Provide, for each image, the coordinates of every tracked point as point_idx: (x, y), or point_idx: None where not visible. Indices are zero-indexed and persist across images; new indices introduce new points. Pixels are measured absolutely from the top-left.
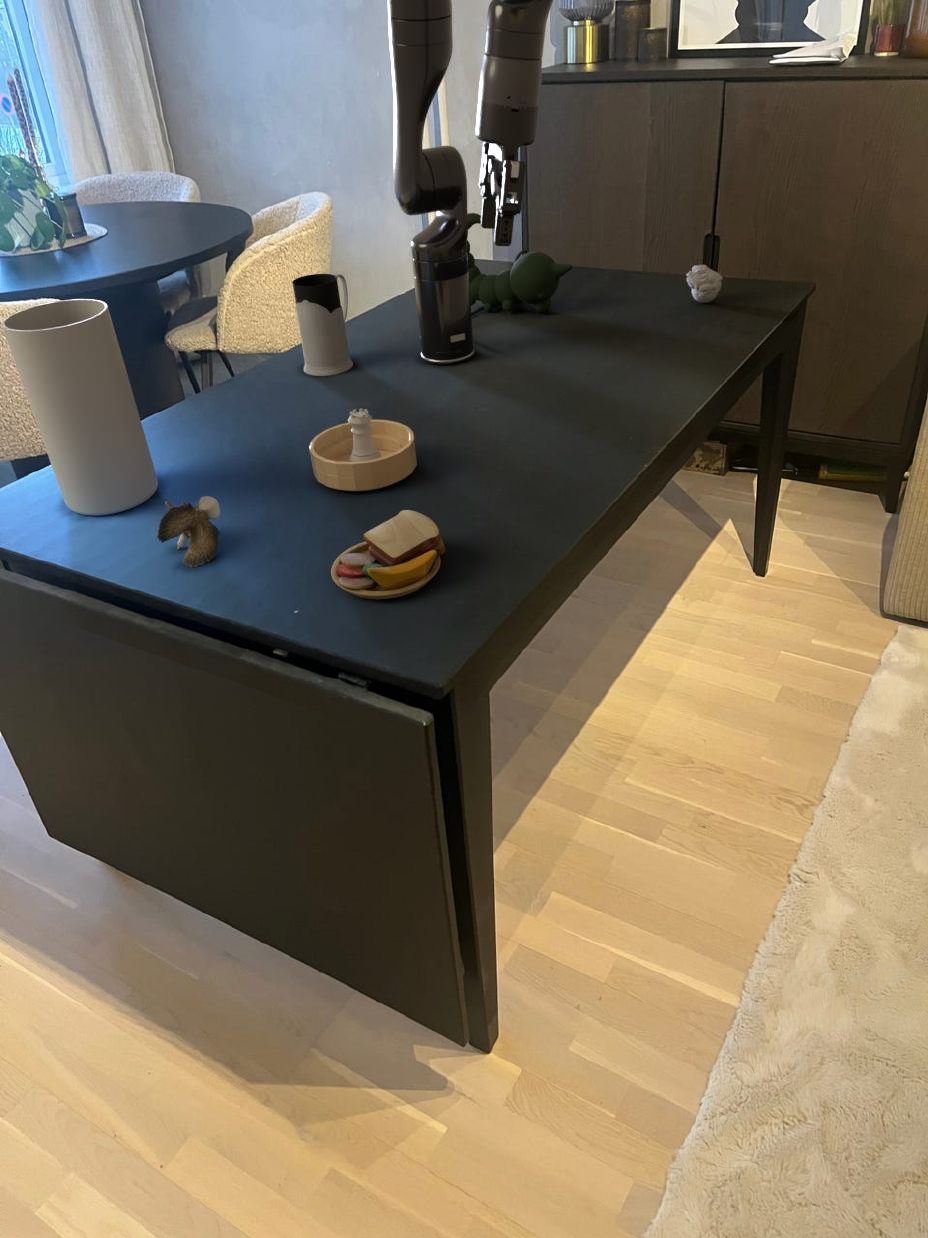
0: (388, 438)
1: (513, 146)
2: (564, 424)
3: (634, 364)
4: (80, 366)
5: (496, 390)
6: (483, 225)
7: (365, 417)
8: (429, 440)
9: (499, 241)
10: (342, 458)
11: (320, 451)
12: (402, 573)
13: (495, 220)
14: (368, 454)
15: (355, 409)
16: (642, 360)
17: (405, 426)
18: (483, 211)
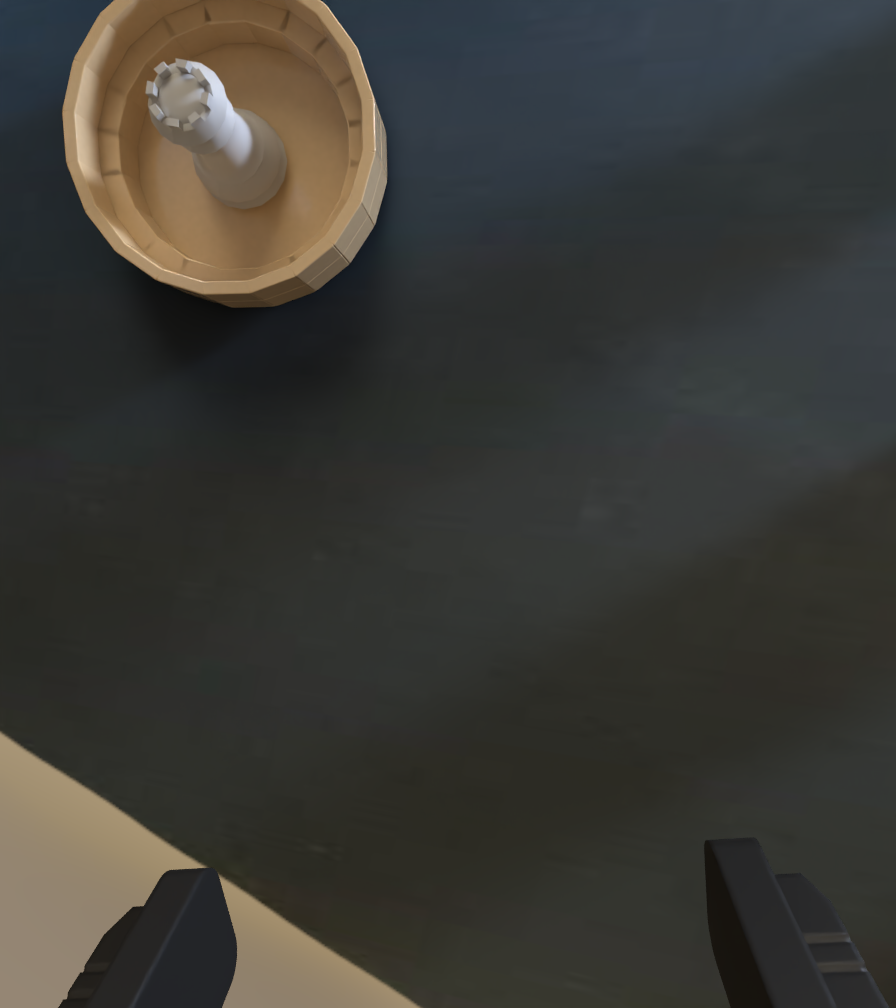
0: (327, 220)
1: None
2: (435, 712)
3: None
4: None
5: (731, 561)
6: (709, 858)
7: (159, 121)
8: (411, 346)
9: (126, 915)
10: (312, 89)
11: (272, 7)
12: None
13: (727, 986)
14: (196, 161)
15: (203, 78)
16: None
17: (298, 268)
18: (748, 958)
